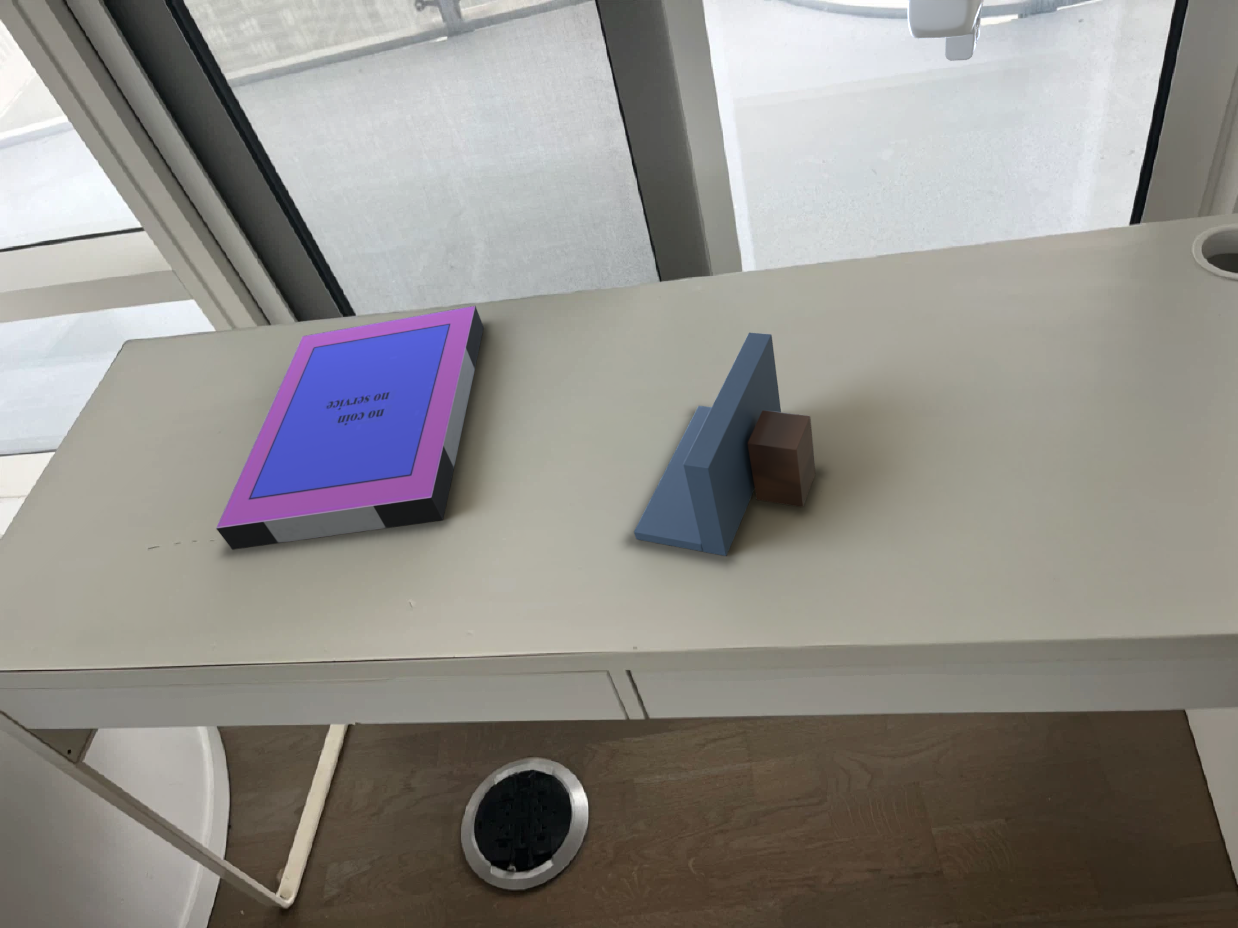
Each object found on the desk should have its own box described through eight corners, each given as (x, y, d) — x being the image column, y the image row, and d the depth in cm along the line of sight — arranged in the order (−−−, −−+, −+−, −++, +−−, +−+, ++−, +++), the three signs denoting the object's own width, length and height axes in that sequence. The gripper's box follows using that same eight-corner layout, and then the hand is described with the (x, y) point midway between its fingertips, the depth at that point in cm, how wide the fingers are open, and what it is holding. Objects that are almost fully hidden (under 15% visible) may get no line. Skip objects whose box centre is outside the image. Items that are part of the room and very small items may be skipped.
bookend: (782, 422, 83) (771, 333, 76) (726, 556, 73) (708, 468, 66) (700, 413, 86) (682, 326, 79) (635, 539, 76) (609, 453, 70)
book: (475, 305, 103) (431, 497, 81) (483, 327, 105) (442, 520, 83) (302, 335, 106) (216, 528, 84) (313, 356, 108) (232, 549, 86)
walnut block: (794, 485, 79) (853, 450, 74) (781, 519, 77) (840, 485, 71) (729, 434, 78) (783, 394, 72) (714, 466, 76) (769, 428, 70)
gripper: (1007, -146, 45) (989, 121, 55) (1049, -240, 58) (1029, -9, 67) (878, -129, 48) (882, 123, 57) (945, -222, 61) (939, -2, 70)
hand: (962, 51), depth 62 cm, fingers closed
